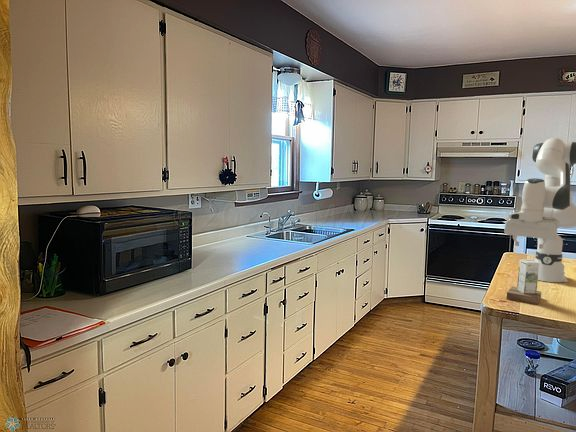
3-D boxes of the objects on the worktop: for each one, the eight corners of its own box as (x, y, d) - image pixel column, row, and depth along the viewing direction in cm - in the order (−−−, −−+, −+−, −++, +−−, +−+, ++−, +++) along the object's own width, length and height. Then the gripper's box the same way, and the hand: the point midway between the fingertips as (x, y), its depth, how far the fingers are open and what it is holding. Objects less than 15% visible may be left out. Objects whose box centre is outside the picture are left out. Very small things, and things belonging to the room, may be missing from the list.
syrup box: (529, 290, 194) (531, 258, 192) (536, 294, 188) (539, 262, 186) (516, 290, 194) (519, 258, 192) (524, 294, 188) (526, 261, 186)
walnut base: (511, 292, 200) (511, 286, 199) (540, 298, 193) (541, 291, 192) (506, 298, 190) (506, 292, 190) (537, 304, 183) (537, 298, 183)
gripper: (560, 217, 183) (557, 249, 185) (507, 213, 195) (505, 243, 197) (558, 219, 178) (555, 251, 180) (504, 214, 190) (502, 245, 192)
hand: (528, 247), depth 189 cm, fingers open, 8 cm apart
